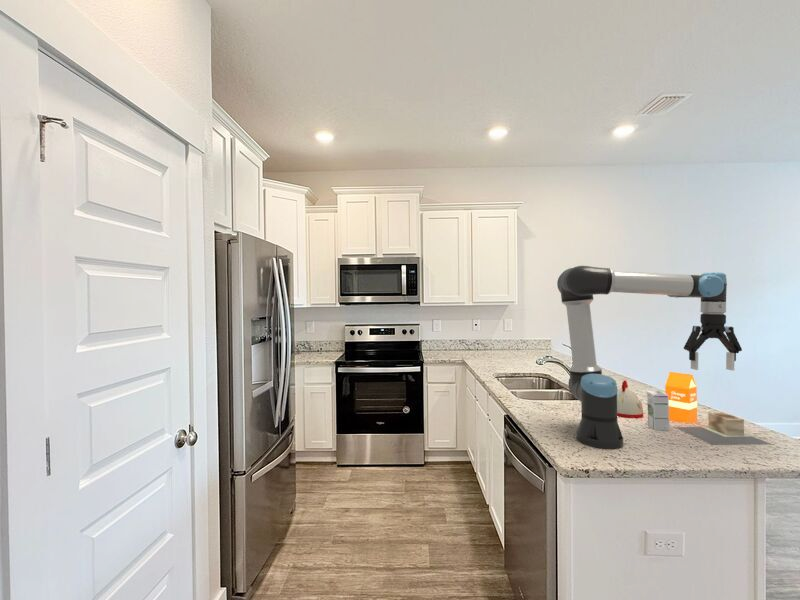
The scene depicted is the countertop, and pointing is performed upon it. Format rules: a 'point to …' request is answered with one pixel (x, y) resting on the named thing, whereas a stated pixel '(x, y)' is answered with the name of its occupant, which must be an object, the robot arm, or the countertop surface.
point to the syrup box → (658, 410)
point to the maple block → (726, 424)
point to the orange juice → (681, 397)
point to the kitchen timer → (628, 403)
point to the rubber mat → (720, 437)
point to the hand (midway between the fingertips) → (712, 369)
